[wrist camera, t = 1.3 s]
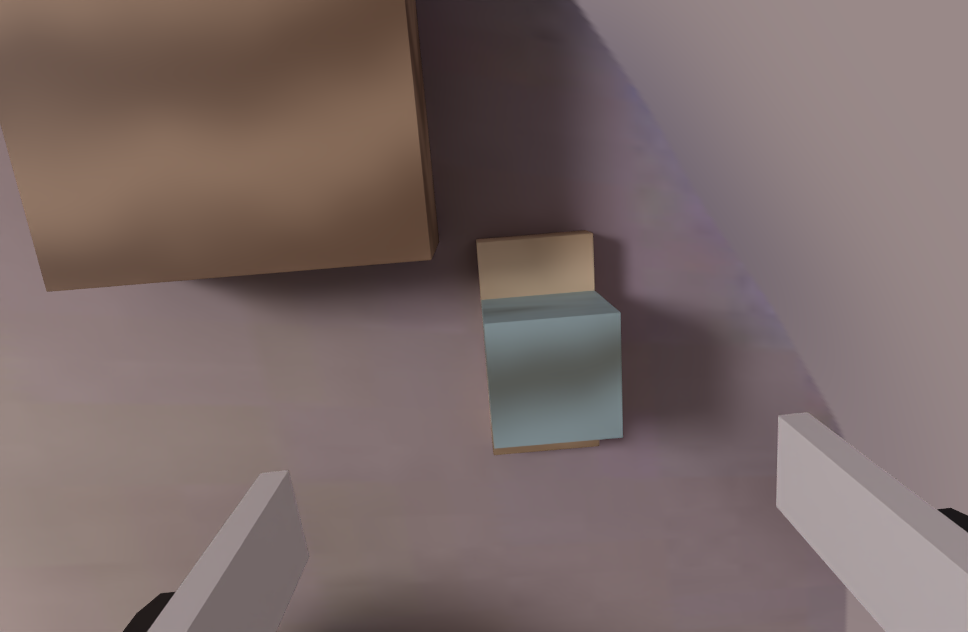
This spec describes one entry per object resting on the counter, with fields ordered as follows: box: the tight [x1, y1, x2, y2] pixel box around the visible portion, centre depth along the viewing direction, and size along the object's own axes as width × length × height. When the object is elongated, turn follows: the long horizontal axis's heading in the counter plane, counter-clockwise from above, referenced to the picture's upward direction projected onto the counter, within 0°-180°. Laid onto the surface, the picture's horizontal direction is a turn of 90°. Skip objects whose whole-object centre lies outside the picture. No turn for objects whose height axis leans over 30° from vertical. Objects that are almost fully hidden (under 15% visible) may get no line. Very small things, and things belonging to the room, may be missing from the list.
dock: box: [0, 0, 439, 292], centre depth 23 cm, size 16×16×10 cm
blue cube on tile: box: [476, 230, 623, 455], centre depth 28 cm, size 12×6×7 cm, turn 4°
